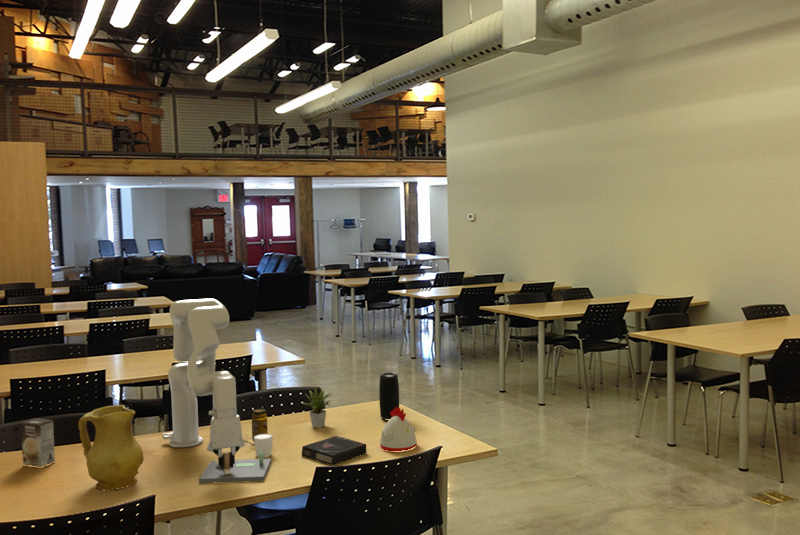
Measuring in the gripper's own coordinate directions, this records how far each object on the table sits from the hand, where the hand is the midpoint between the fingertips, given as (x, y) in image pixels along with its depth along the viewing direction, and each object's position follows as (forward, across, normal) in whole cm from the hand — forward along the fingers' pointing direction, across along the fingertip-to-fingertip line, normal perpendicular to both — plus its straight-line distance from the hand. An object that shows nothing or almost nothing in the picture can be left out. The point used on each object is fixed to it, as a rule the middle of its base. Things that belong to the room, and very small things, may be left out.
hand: (226, 466), depth 226 cm
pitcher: (+4, -34, +11) cm, 36 cm away
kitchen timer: (+4, +64, +3) cm, 64 cm away
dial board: (+4, +4, +3) cm, 6 cm away
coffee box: (+4, -59, +44) cm, 74 cm away
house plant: (+4, +45, +43) cm, 62 cm away
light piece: (+2, 0, +4) cm, 4 cm away
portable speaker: (+4, +77, +40) cm, 87 cm away
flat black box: (+4, +39, +5) cm, 40 cm away
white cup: (+4, +16, +17) cm, 24 cm away
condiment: (+4, +18, +36) cm, 40 cm away
